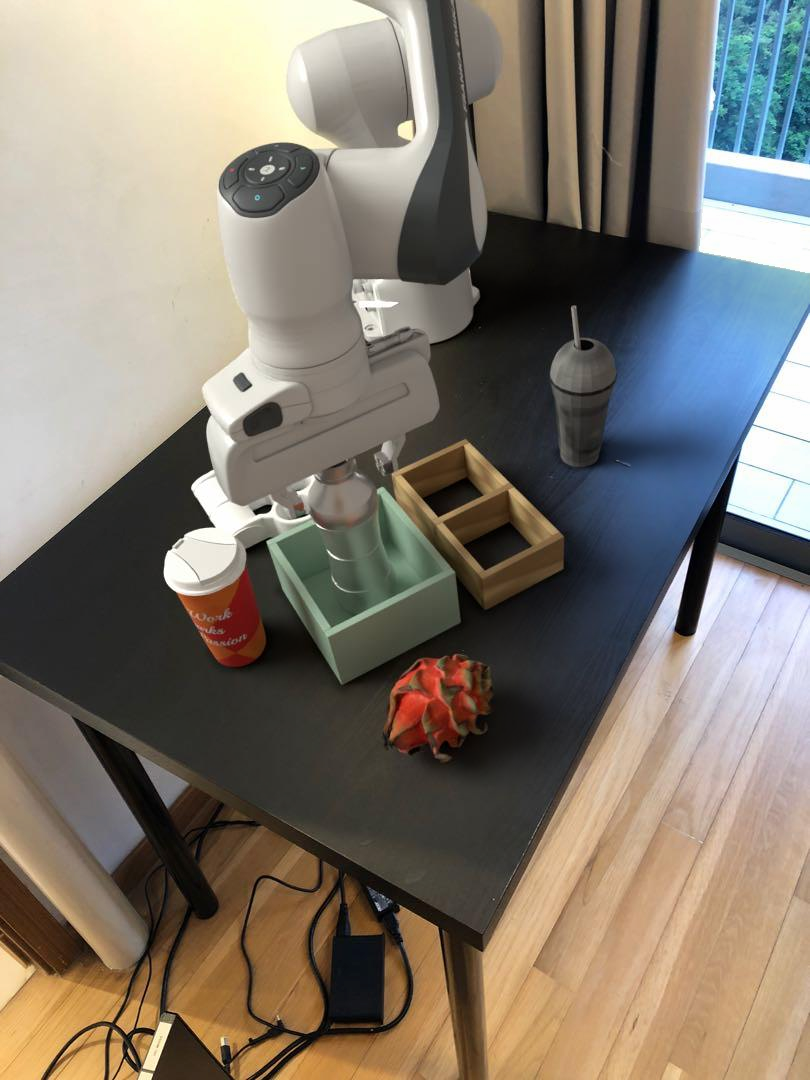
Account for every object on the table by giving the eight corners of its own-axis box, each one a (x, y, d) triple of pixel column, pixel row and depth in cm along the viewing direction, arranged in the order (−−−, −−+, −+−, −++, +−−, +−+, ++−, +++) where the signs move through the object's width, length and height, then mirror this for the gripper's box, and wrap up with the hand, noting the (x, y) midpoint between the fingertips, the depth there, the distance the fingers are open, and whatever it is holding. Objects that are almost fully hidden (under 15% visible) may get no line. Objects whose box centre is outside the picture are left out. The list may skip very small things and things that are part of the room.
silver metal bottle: (411, 603, 90) (383, 458, 75) (354, 634, 88) (314, 491, 73) (381, 565, 94) (349, 420, 79) (325, 594, 92) (282, 451, 78)
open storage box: (282, 589, 94) (265, 540, 89) (392, 536, 98) (383, 486, 92) (342, 685, 85) (327, 637, 79) (461, 622, 88) (455, 572, 83)
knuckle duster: (186, 485, 108) (292, 437, 112) (243, 574, 96) (358, 517, 100) (178, 465, 105) (286, 416, 109) (235, 554, 94) (354, 496, 98)
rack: (396, 505, 101) (391, 473, 97) (468, 470, 104) (465, 438, 100) (484, 610, 89) (482, 579, 85) (563, 569, 92) (564, 536, 88)
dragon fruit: (504, 702, 83) (404, 781, 81) (451, 629, 84) (350, 706, 81) (529, 704, 75) (418, 793, 72) (470, 624, 75) (358, 709, 73)
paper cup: (187, 657, 89) (142, 567, 79) (236, 605, 93) (198, 513, 83) (244, 688, 86) (204, 598, 76) (292, 633, 90) (260, 540, 80)
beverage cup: (610, 477, 100) (621, 327, 86) (545, 474, 102) (546, 327, 87) (612, 435, 105) (623, 287, 90) (550, 433, 106) (552, 287, 92)
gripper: (407, 302, 74) (423, 428, 84) (181, 394, 69) (228, 517, 79) (445, 336, 70) (458, 464, 80) (209, 437, 65) (254, 560, 75)
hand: (342, 491), depth 79 cm, fingers open, 8 cm apart
